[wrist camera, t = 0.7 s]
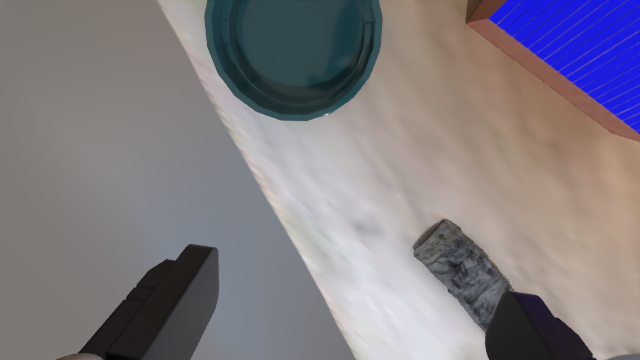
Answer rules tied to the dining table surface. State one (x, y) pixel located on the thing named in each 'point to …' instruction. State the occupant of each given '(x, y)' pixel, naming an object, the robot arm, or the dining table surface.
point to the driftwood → (463, 272)
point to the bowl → (294, 52)
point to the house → (574, 52)
